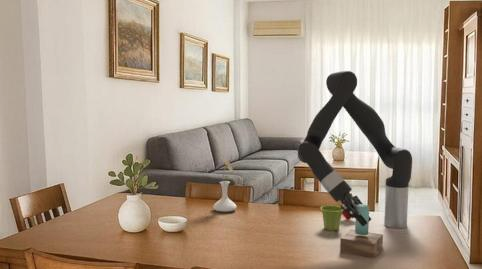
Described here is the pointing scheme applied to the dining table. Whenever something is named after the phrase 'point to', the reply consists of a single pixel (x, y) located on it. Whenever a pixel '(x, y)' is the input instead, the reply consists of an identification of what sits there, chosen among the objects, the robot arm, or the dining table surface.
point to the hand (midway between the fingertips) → (367, 222)
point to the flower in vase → (225, 194)
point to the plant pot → (331, 217)
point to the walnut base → (361, 244)
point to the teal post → (365, 213)
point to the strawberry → (345, 214)
